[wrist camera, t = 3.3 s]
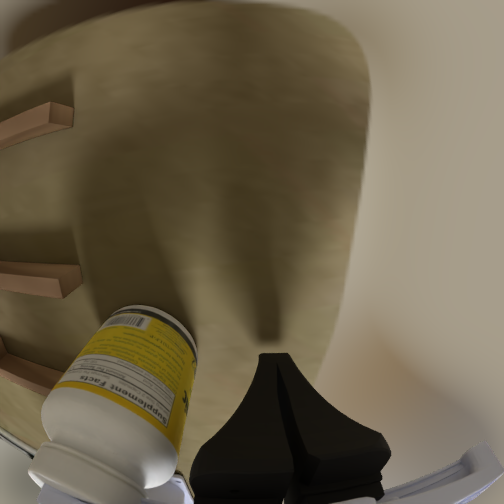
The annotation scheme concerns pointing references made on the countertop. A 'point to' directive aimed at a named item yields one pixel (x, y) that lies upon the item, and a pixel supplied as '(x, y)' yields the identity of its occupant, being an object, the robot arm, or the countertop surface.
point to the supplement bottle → (119, 410)
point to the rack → (35, 274)
